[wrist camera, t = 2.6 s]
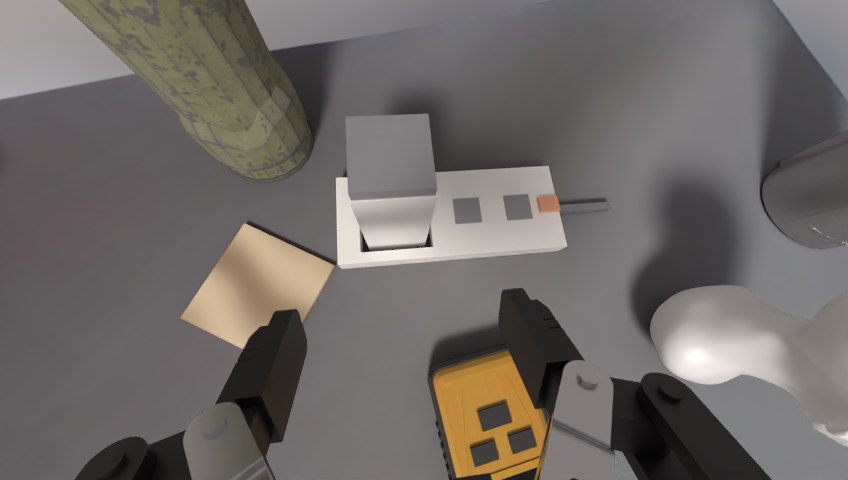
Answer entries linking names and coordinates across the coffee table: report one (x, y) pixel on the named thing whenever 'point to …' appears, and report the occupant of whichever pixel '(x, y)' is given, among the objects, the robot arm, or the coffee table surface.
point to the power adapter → (391, 178)
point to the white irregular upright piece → (759, 348)
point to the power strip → (473, 218)
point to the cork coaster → (256, 286)
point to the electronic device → (486, 417)
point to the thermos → (210, 78)
